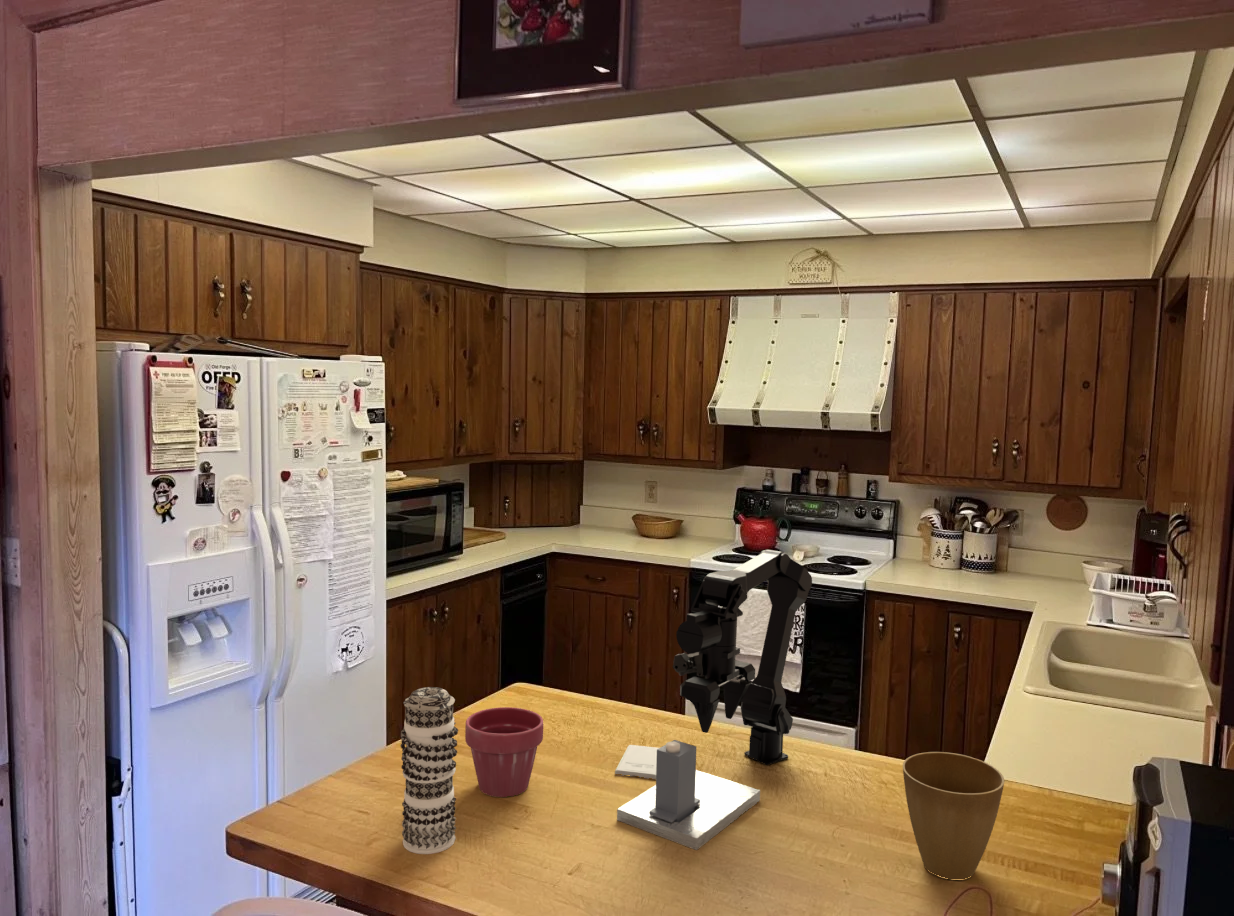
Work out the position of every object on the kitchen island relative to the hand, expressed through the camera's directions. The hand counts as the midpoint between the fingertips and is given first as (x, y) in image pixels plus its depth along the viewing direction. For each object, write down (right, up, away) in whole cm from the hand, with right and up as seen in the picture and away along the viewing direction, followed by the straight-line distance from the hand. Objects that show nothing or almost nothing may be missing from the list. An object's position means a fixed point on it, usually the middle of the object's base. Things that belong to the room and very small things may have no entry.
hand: (717, 725), depth 169 cm
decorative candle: (-49, -13, -20) cm, 55 cm away
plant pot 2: (+33, -15, -26) cm, 45 cm away
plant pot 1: (-40, -12, 0) cm, 41 cm away
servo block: (-9, -13, -12) cm, 20 cm away
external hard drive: (-14, -12, +11) cm, 21 cm away
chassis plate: (-6, -13, -8) cm, 16 cm away
